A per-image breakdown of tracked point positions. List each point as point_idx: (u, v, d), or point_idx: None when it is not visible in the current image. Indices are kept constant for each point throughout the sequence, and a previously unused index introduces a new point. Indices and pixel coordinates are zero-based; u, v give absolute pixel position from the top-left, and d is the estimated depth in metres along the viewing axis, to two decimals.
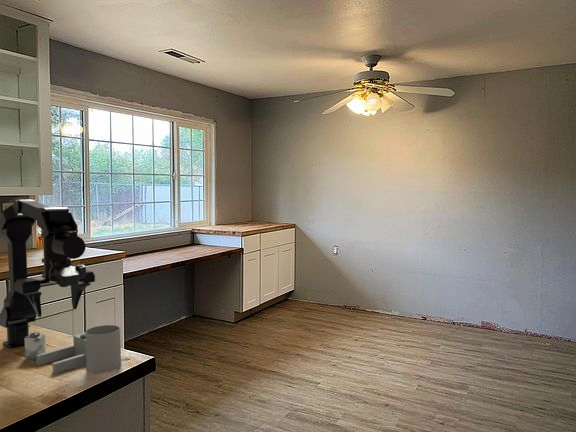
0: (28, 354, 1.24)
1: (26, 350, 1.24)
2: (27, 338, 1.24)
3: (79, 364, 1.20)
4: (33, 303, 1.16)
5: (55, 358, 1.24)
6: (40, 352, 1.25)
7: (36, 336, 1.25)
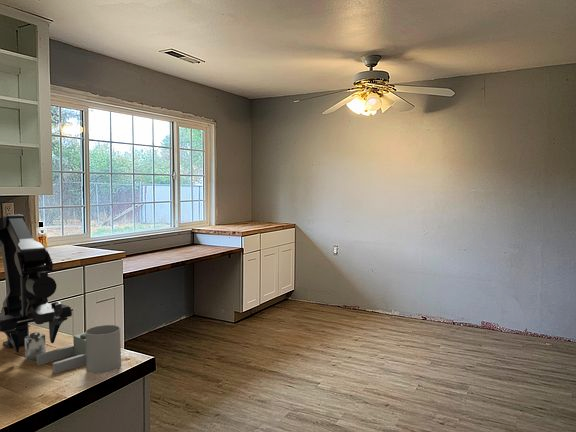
0: (28, 354, 1.24)
1: (26, 350, 1.24)
2: (27, 338, 1.24)
3: (79, 364, 1.20)
4: (11, 339, 1.21)
5: (55, 358, 1.24)
6: (40, 352, 1.25)
7: (36, 336, 1.25)
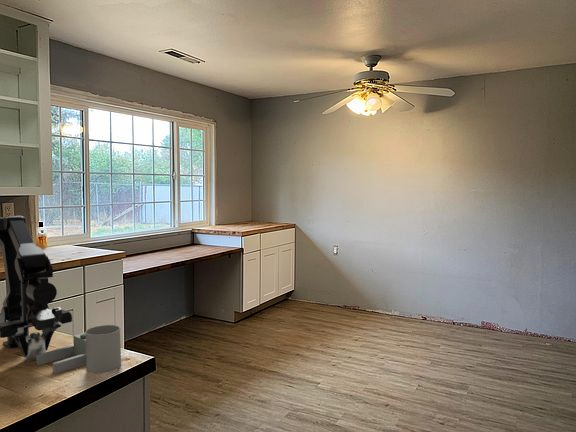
0: (28, 354, 1.24)
1: None
2: (27, 338, 1.24)
3: (79, 364, 1.20)
4: (19, 343, 1.23)
5: (55, 358, 1.24)
6: (40, 352, 1.25)
7: (36, 336, 1.25)
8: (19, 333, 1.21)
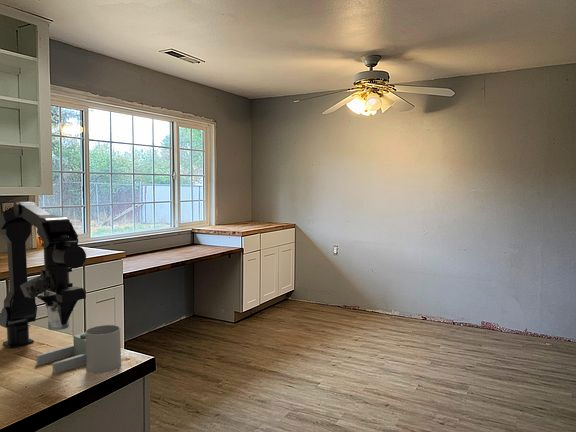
0: None
1: None
2: None
3: (79, 364, 1.20)
4: None
5: (55, 358, 1.24)
6: (49, 322, 1.18)
7: (53, 305, 1.19)
8: (41, 295, 1.21)
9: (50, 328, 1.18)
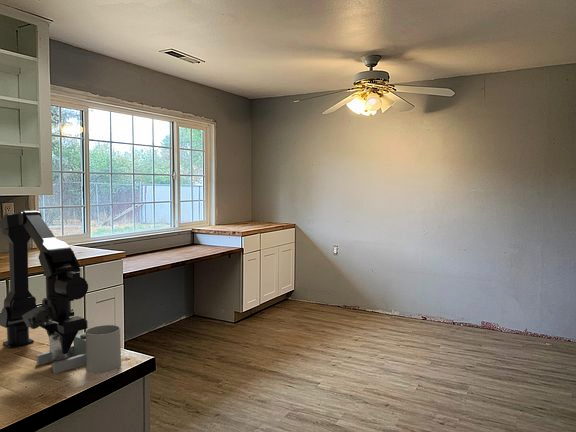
0: None
1: None
2: None
3: (79, 364, 1.20)
4: None
5: None
6: (51, 351, 1.19)
7: (54, 334, 1.20)
8: (43, 323, 1.22)
9: (52, 357, 1.19)
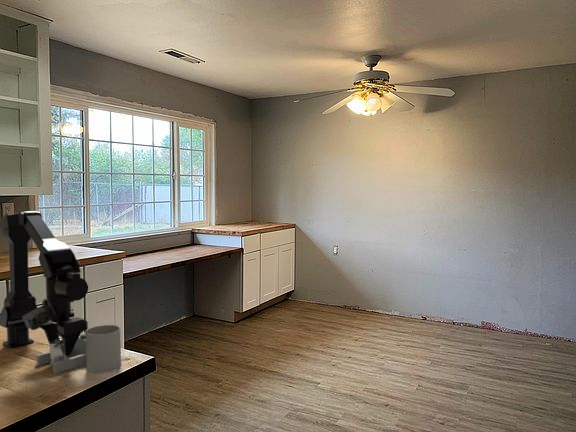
0: None
1: None
2: None
3: (79, 364, 1.20)
4: None
5: None
6: (51, 360, 1.19)
7: (55, 342, 1.20)
8: None
9: (52, 366, 1.19)
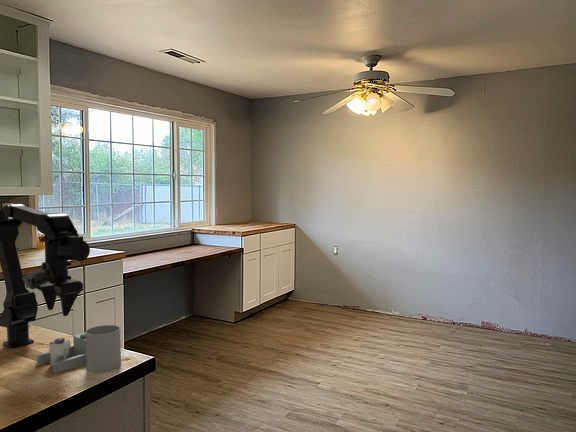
0: None
1: None
2: None
3: (79, 364, 1.20)
4: None
5: None
6: (51, 360, 1.19)
7: (55, 342, 1.20)
8: (39, 285, 1.31)
9: (52, 366, 1.19)
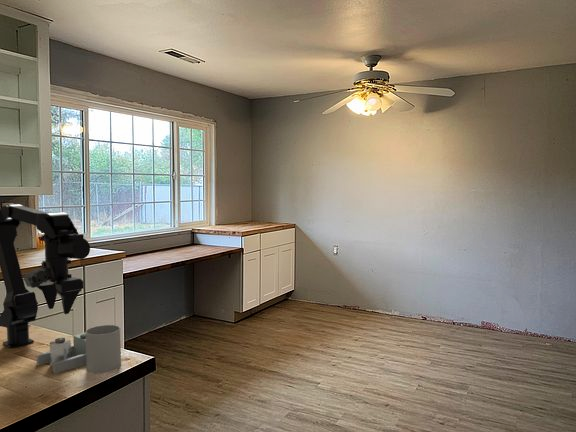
0: None
1: None
2: None
3: (79, 364, 1.20)
4: None
5: None
6: (51, 359, 1.19)
7: (55, 342, 1.20)
8: (39, 284, 1.31)
9: (52, 365, 1.19)
